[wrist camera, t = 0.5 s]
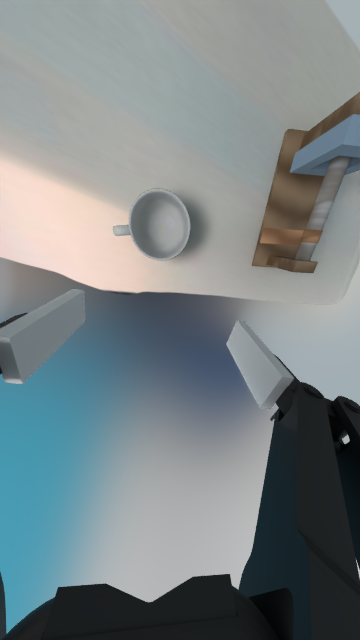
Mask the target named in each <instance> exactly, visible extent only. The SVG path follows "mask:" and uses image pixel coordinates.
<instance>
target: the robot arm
mask: <svg viewBox="0 0 360 640" xmlns="http://www.w3.org/2000/svg"><path fill="white" fill-rule="evenodd" d="M84 322H85V302H84V291H83V290H78V289H72V290H70V291H68V292H67V293H65V294H63V295H61V296H59V297H57V298H55V299H54V300H52V301H50V302H48V303H46V304H44V305H43V306H41V307H39V308H37V309H35V310H33V311H32V312H30V313H24V314H21V315H17V316H14V317H12V318H10V319H8V320H6V322H5V321H4V322H3V323H1V324H0V374H1V373H2V375H3V378H4V381H5V382H9V383H18V384H23V383H24V382H25V381H26V380H27V379H28V378H29V377H30V376H31V375H32V374H33V373H34V372H35V371H36V370H37V369H38V368H39V367H40V366H41V365H42V364H43V363H44V362H45V361H46V360H47V359H48V358H49V357H50V356H51V355H52V354H53V353H54V352H55V351H56V350H57V349H58V348H59V347H60V346H61V345H62V344H63V343H64V342H65V341H66V340H67V339H68V337H70V336H71V335H72V334H73V333H74V332H75V331H76V330H77V329H78V328H79V327H80V326H81V325H82V324H83V323H84ZM227 347H228V348H229V350H230V352H231V354H232V356H233V358H234V360H235V362H236V364H237V366H238V368H239V369H240V371H241V373H242V375H243V377H244V379H245V381H246V383H247V385H248V387H249V389H250V390H251V392H252V394H253V396H254V398H255V400H256V402H257V403H258V406H259V407H260V408H264V409H271V408H272V407H273V405H274V404H275V403H276V404H277V406H278V407H279V409H278V410H277V411H276V413H275V414H274V415H273V416H272V417H271V419H270V420H271V421H272V420H273V419H275V421H274V427H273V433H272V439H271V444H270V450H269V456H268V462H267V468H266V473H265V479H264V485H263V491H262V497H261V503H260V508H259V514H258V520H257V526H256V532H255V537H254V544H253V548H252V552H251V555H250V557H249V559H248V561H247V563H246V565H245V568H244V571H243V573H242V577H241V581H240V585H239V590H238V589H236V588H235V587H233V586H232V584H231V578H230V574H224V575H211V576H198V577H192V578H190V579H189V580H187V581H185V582H184V583H182V584H180V585H179V586H177V587H176V588H174V589H172V590H171V591H169V592H167V593H166V594H164V595H163V596H161V597H159V598H158V599H156V600H155V601H153V602H145V601H143V600H140V599H138V598H136V597H134V596H132V595H130V594H127V593H125V592H123V591H121V590H119V589H116V588H114V587H112V586H110V585H108V584H94V585H81V586H68V587H58V589H57V593H56V596H55V597H54V598H53V599H51V600H49V601H47V602H45V603H44V604H42V605H41V606H39V607H38V608H36V609H35V610H34V611H32V612H31V613H29V614H28V615H27V616H26V617H25V618H24V619H22V620H21V621H20V622H19V623H18V624H17V625H15V626H14V627H13V628H12V629H11V630H10V631H9V632H8V633H7V634H6V608H5V593H4V586H3V581H2V577H1V573H0V640H360V579H359V574H358V568H357V563H358V566H359V569H360V406H359V405H358V404H357V403H355V402H354V401H352V400H349V399H348V398H346V397H342V396H338V397H337V398H336V399H335V400H334V401H331V400H329V399H326V398H324V396H323V395H322V394H321V393H320V392H319V391H318V390H317V389H316V388H314V387H313V386H311V385H309V384H307V383H302V382H300V381H299V380H298V379H297V378H296V377H295V376H294V375H293V374H292V373H291V371H290V370H289V369H288V368H287V367H286V366H285V365H284V364H283V362H282V361H281V360H280V359H279V358H278V357H277V356H275V355H274V354H273V353H272V352H271V351H270V350H269V349H268V348H267V347H266V345H265V344H264V343H263V342H262V341H261V340H260V339H259V338H258V336H257V335H256V334H255V333H254V332H253V331H252V330H251V328H250V327H249V326H248V325H247V324H246V323H245V322H244V321H239V320H237V321H236V324H235V326H234V328H233V331H232V333H231V335H230V337H229V339H228V342H227ZM347 434H348V436H349V438H350V441H349V442H348V443H347V444H344V443H343V441H342V438H344V437H345V436H346V435H347ZM355 557H356V558H355ZM356 560H357V563H356Z"/></svg>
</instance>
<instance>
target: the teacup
mask: <svg viewBox="0 0 360 640" xmlns="http://www.w3.org/2000/svg"><path fill="white" fill-rule="evenodd" d="M190 228H191V225H190V217H189V213H188V211H187V209H186V207H185V205H184V203H183V202H182V201H181V200H180V199H179V197H177V196H176V195H175V194H174V193H172V192H170V191H168V190H165V189H160V188H155V189H151V190H147V191H146V192H143V193H142V194H141V195H139V196H138V198H137V199H136V200H135V201H134V203H133V205H132V207H131V210H130V215H129V225H121V226H113V232H114V235H115V236H122V235H131V237H132V239H133V241H134V243H135V245H136V247H137V248H138V249H139V250H140V251H141V252H142V253H143V254H144V255H146V256H147V257H149V258H151V259H155V260H168V259H171V258H174V257H175V256H177V255H178V254H179V253H180V252H181V251H182V250H183V249H184V248H185V246H186V244H187V242H188V239H189V235H190Z"/></svg>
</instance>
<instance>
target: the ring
mask: <svg viewBox="0 0 360 640" xmlns="http://www.w3.org/2000/svg"><path fill="white" fill-rule="evenodd" d="M338 155H340V156H349V157H351V159H350V162H349V164H348V167H347V169H346V172H345V174H344V175H347V174H349V173H352V172H355V171H358V170H360V115H357V114H353V115H351V116H350V117H348V118H347V119H345V120H344V121H342V122H341V123H339V124H338V125H336V126H335V127H333V128H332V129H330V130H329V131H327V132H326V133H324V134H323V135H321V136H320V137H318V138H317V139H316V140H314V141H313V142H311V143H310V144H308V145H307V146H305V147H304V148H302V149H301V150H299V151H298V152H296V153H295V156H294V159H293V163H292V166H291V170H290V173H298V174H308V175H318V176H325V174H326V171H327V168H328V166H329V163H330V160H331V159H332V158H334V157H336V156H338Z"/></svg>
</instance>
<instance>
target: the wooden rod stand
mask: <svg viewBox="0 0 360 640" xmlns="http://www.w3.org/2000/svg"><path fill="white" fill-rule="evenodd" d="M353 114H357V115H360V92H359V93H358V94H357V95H355V96H354V97H353V98H351V99H350V100H349V101H347V102H346V103H345V104H343V105H342V106H341V107H340V108H338V109H337V110H336V111H334V112H333V113H332V114H330V115H329V116H328V117H326V118H325V119H324V120H323V121H321V122H320V123H319V124H317V125H316V126H315V127H313V128H312V129H311V130H309V131H302V130H294V129H288V130H287V131H286V132H285V135H284V139H283V143H282V147H281V151H280V155H279V159H278V163H277V167H276V171H275V175H274V179H273V183H272V187H271V191H270V195H269V199H268V203H267V207H266V211H265V215H264V219H263V223H262V227H261V231H260V235H259V239H258V243H257V247H256V251H255V255H254V259H253V263H252V266H262V267H277V268H280V269H284V270H288V271H291V272H301V273H314V270H315V268H316V266H317V263H318V262H315V261H310V259H311V256H312V254H313V251H314V249H315V246H316V244H317V243H318V241H319V239H320V236H321V234H322V232H323V230H322V229H323V226H324V224H325V221H326V219H327V216H328V214H329V211H330V209H331V207H332V204H333V202H334V199H335V197H336V194H337V192H338V189H339V187H340V184H341V182H342V179H343V177H344V174H345V172H346V169H347V167H348V164H349V162H350V159H351V157H349V156H340V155H338V156H336V157H334V158H332V159H331V160H330V163H329V166H328V168H327V171H326V174H325V176H318V175H308V174H298V173H290V170H291V166H292V163H293V159H294V156H295V153H296V152H298V151H299V150H301V149H302V148H304V147H305V146H307V145H308V144H310V143H311V142H313V141H314V140H316V139H317V138H318V137H320V136H321V135H323V134H324V133H326V132H327V131H329V130H330V129H332V128H333V127H335V126H336V125H338V124H339V123H341V122H342V121H344V120H345V119H347V118H348V117H350V116H351V115H353Z"/></svg>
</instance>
